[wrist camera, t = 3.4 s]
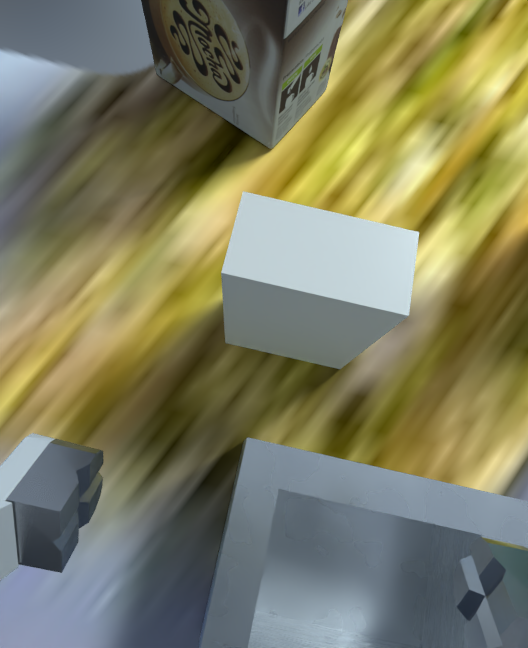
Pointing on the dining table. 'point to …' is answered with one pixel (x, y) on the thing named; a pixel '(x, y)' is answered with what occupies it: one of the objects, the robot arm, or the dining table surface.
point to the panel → (313, 281)
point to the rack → (345, 554)
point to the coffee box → (247, 56)
